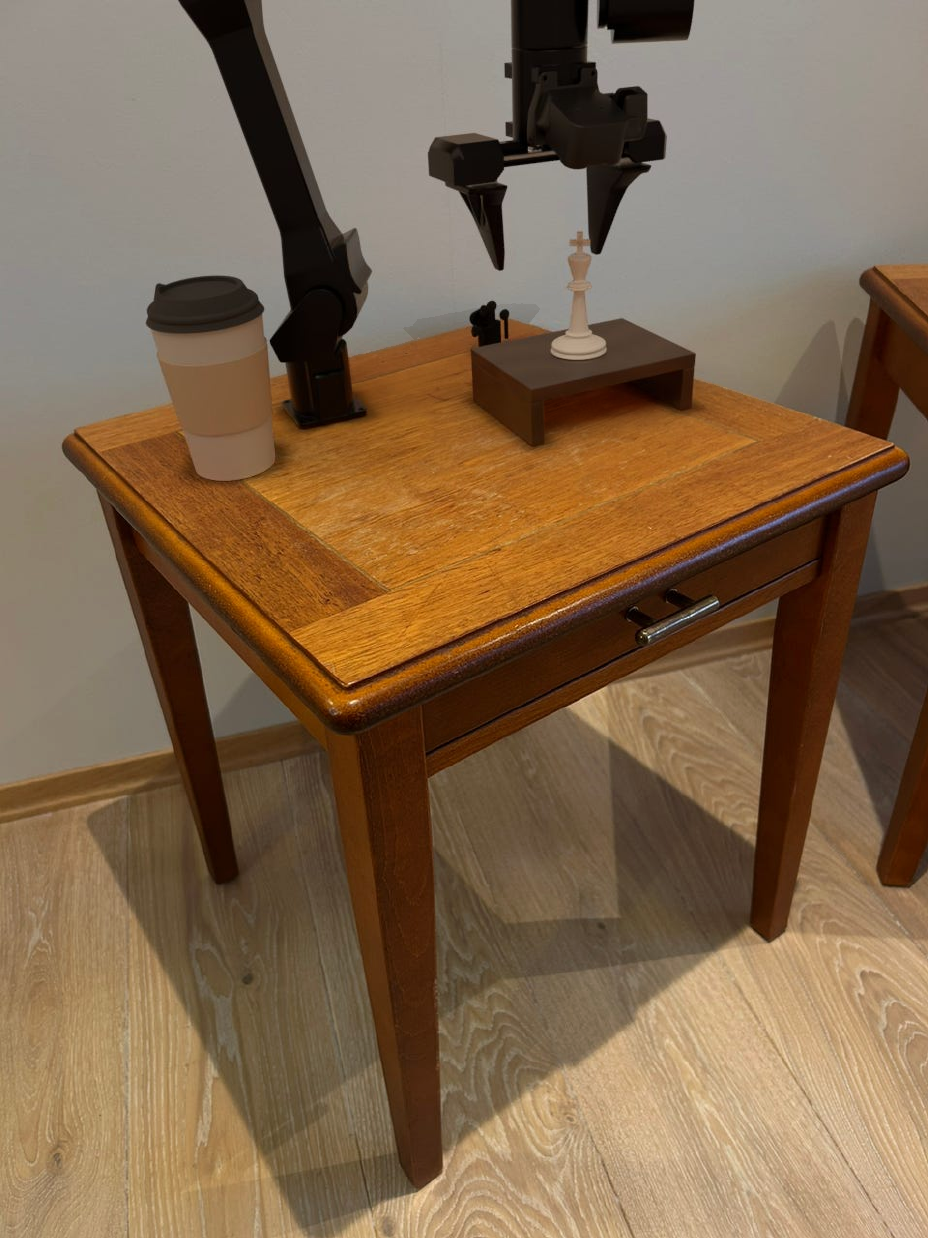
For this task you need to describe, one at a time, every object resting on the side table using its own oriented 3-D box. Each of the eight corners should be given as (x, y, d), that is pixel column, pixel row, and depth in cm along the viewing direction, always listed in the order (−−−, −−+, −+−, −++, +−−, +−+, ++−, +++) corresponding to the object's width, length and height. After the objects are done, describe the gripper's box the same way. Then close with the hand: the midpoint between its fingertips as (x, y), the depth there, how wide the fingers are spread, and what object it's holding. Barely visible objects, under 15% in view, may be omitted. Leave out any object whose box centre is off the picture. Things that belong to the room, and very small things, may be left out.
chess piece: (604, 360, 83) (607, 238, 77) (547, 359, 84) (546, 239, 78) (608, 341, 87) (612, 224, 81) (554, 341, 88) (553, 225, 82)
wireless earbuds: (478, 362, 99) (476, 313, 96) (458, 359, 100) (455, 310, 97) (513, 342, 104) (512, 294, 101) (493, 339, 105) (491, 291, 102)
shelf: (473, 400, 91) (470, 348, 88) (620, 368, 95) (622, 317, 93) (531, 446, 81) (531, 389, 78) (691, 408, 86) (696, 353, 83)
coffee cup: (288, 435, 86) (259, 261, 78) (290, 478, 79) (258, 291, 70) (185, 447, 85) (144, 272, 77) (177, 492, 78) (131, 304, 69)
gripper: (481, 63, 64) (488, 303, 72) (717, 42, 69) (697, 266, 78) (419, 54, 72) (432, 269, 81) (633, 36, 78) (624, 238, 87)
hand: (548, 261), depth 82 cm, fingers open, 9 cm apart
